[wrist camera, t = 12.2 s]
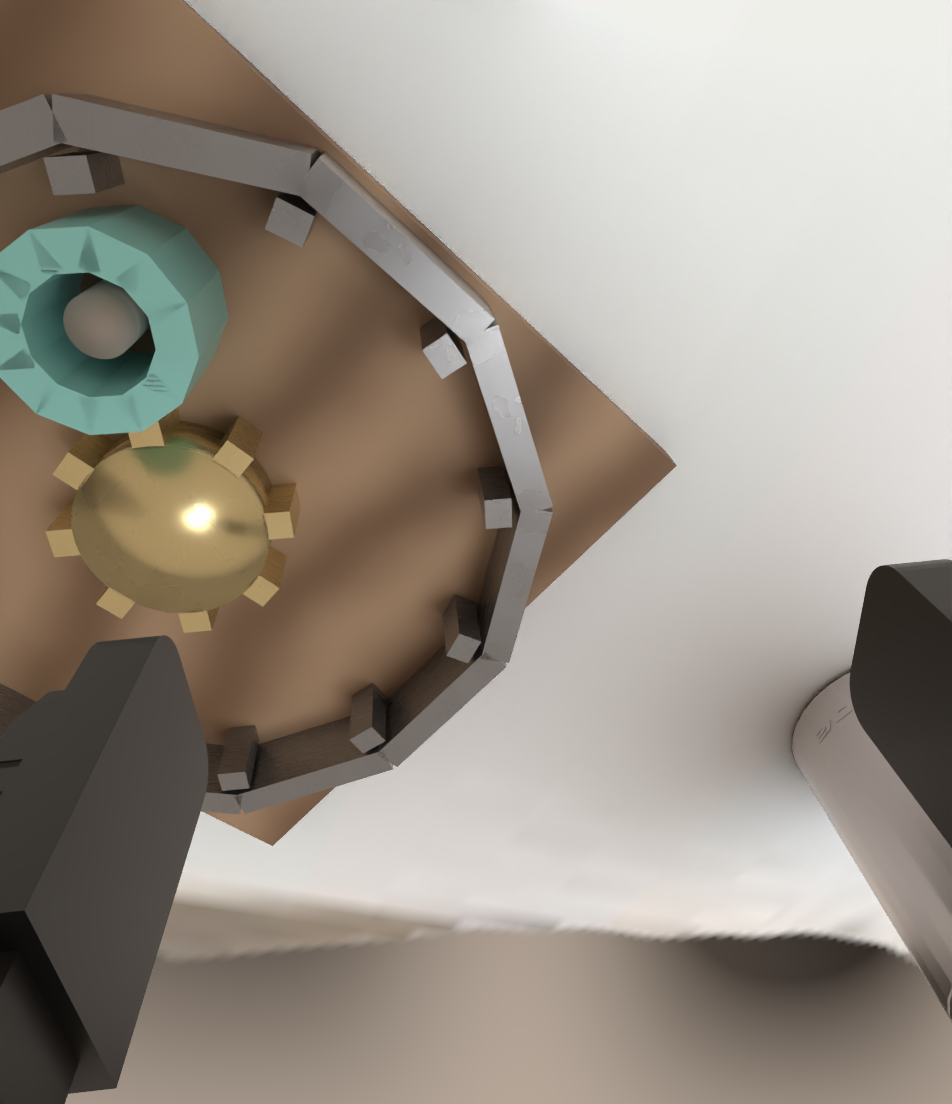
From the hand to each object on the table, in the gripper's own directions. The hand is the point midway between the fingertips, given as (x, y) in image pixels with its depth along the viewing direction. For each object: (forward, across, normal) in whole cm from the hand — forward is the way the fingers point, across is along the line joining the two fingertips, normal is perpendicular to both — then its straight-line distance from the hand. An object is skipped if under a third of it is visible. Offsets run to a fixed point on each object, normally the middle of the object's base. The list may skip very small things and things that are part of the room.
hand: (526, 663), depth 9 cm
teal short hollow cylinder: (+22, +11, -1) cm, 24 cm away
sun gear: (+22, +11, +7) cm, 26 cm away
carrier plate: (+24, +11, +7) cm, 27 cm away
